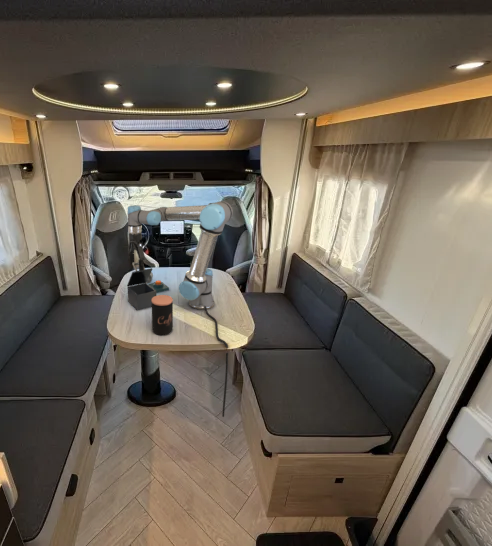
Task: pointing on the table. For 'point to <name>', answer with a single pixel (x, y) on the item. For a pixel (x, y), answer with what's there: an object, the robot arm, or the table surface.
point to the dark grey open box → (141, 296)
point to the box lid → (139, 275)
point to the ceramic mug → (150, 278)
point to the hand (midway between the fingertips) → (136, 267)
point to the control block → (159, 287)
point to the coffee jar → (162, 314)
